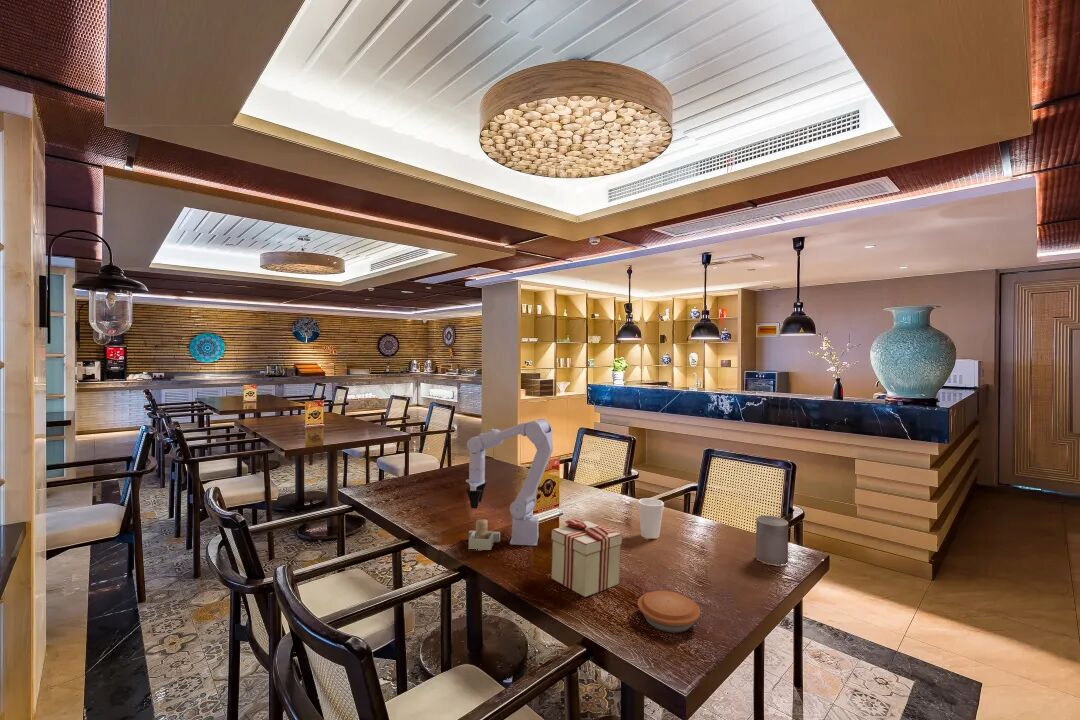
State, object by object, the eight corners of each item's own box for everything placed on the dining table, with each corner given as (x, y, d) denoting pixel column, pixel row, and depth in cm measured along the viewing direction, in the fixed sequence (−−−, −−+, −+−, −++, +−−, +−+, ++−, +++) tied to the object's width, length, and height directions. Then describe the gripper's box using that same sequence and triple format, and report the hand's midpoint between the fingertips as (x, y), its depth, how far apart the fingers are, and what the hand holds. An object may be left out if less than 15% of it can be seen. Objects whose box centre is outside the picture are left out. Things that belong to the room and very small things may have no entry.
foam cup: (661, 543, 173) (662, 507, 173) (635, 539, 176) (636, 504, 176) (663, 534, 182) (664, 499, 182) (639, 530, 185) (639, 497, 185)
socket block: (494, 543, 170) (494, 532, 170) (490, 551, 163) (490, 540, 163) (473, 542, 171) (473, 531, 171) (468, 550, 163) (468, 539, 163)
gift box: (628, 580, 144) (629, 522, 144) (588, 601, 131) (590, 538, 131) (584, 561, 156) (586, 508, 156) (544, 579, 143) (546, 521, 143)
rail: (499, 540, 172) (500, 531, 172) (499, 542, 170) (499, 533, 170) (469, 538, 173) (469, 530, 173) (468, 540, 171) (468, 532, 171)
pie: (698, 644, 112) (699, 623, 112) (632, 629, 118) (632, 609, 118) (701, 612, 127) (702, 593, 127) (642, 599, 132) (642, 581, 132)
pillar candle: (770, 553, 166) (771, 510, 166) (794, 564, 157) (795, 519, 157) (748, 557, 162) (749, 513, 162) (772, 569, 153) (772, 522, 153)
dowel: (488, 542, 168) (488, 519, 168) (486, 546, 164) (486, 523, 164) (477, 541, 169) (477, 519, 169) (474, 546, 165) (474, 523, 165)
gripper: (470, 463, 186) (469, 498, 186) (462, 472, 172) (461, 510, 172) (488, 464, 186) (487, 499, 186) (481, 473, 171) (480, 511, 171)
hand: (476, 504), depth 179 cm, fingers open, 7 cm apart
